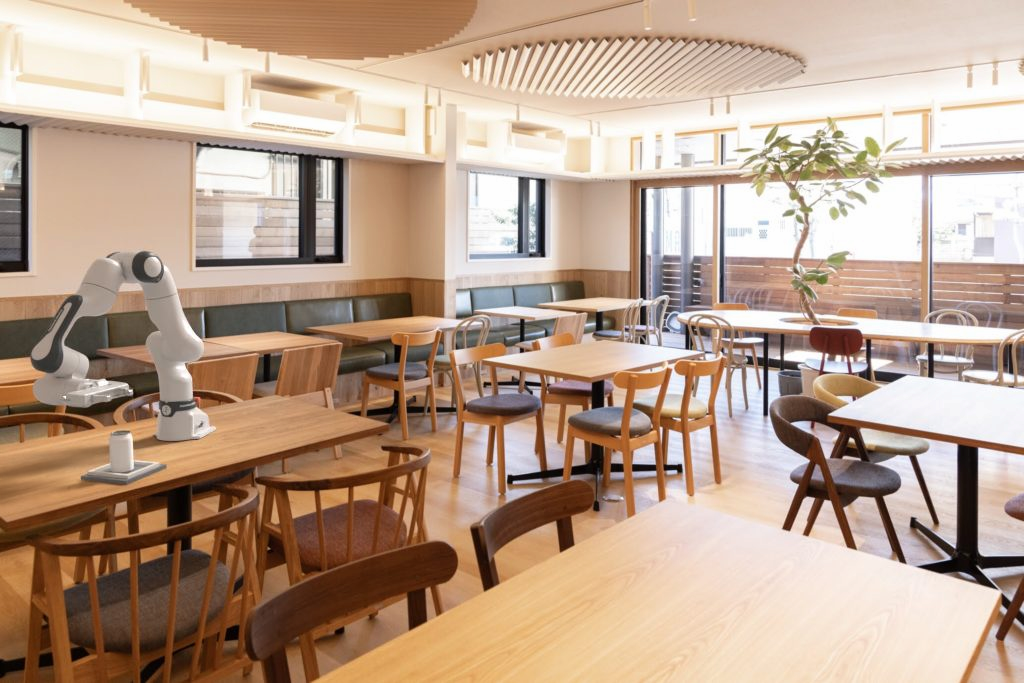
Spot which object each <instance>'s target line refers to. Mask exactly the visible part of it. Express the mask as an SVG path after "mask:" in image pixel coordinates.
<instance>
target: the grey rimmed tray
mask: <svg viewBox="0 0 1024 683" xmlns="http://www.w3.org/2000/svg"><path fill="white" fill-rule="evenodd" d="M166 469H167V464H165V463H161V462H157V461H146V460H137V459H136V460H135V459H134V469H133V470H132V471H130V472H126V473H113V472H112V471H111V468H110V462H109V463H106V464H103V465H101V466H98V467H95V468H93V469H90V470H87V473H85V474H81V475H80V480H81V481H88V482H97V483H107V484H114V485H130V484H132V483H134V482H136V481H139V480H141V479H143V478H146V477H149V476H151V475H153V474H155V473H158V472H161V471H163V470H166Z"/></svg>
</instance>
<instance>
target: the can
mask: <svg viewBox="0 0 1024 683" xmlns="http://www.w3.org/2000/svg"><path fill="white" fill-rule="evenodd" d="M109 434H110V435H109V438H108V441H109V442H108V444H109V447H108V448H109V463H110V468H111V471H112V472H113V473H126V472H130V471H132V470H133V469H134V460H135V459H134V442H133V440H134V438H133V435H132V434H131V431H130V430H123V429H122V430H115V431H112V432H110V433H109Z"/></svg>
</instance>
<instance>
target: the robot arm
mask: <svg viewBox="0 0 1024 683" xmlns="http://www.w3.org/2000/svg"><path fill="white" fill-rule="evenodd" d="M122 284H139V285H140V286H141V289H142V295H143V298H144V301H145V304H146V309H147V312H148V317H149V319H150V321H151V322H152V323H153V324H154V325H155V327H157V329H158V330H157V331H153V332H151V333H150V334H149V335H148V336H147V337H146V341H145V348H146V351H147V353H148V354H149V356H151V358H152V360H153V363H154V365H155V369H156V373H157V377H158V384H159V385H158V386H159V387H158V388H159V399H158V409H159V412H158V414H157V423H156V424H157V425H156V431H155V432H154V436H156V439H157V440H160V441H165V442H166V441H167V442H177V441H179V442H180V441H188V440H198V439H202V438H205V437H206V436H208V435H209V434H211V433H213V432H214V431H216V430H217V428H216V426H214V425H210V418H209V416H208V414H207V413H206V412H204V411H203V410H201V409H200V408H199V407H198V406H197V403H201V397H199V396H194V395H193V394H194V393H193V391H194V390H193V377H192V375H191V373H190V372H189V371H188V369H187V366H186V364H189V363H194V362H196V361H197V362H198V360H200V359H201V357H202V356H203V354H204V352H205V345H204V342H203V340H202V339H201V338H200V337H199V336H198V335H197V334H196V332H195V331H194V330H193V329H192V327H191V325H190V323H189V321H188V319H187V317H186V316H185V315H186V314H185V312H184V311H183V307H182V304H181V300H180V297H179V293H178V288H177V285H176V283H175V279H174V277H173V275H172V272H171V271H170V269H169V267H168V266H166V265H165V264H163V262H162V259H161V258H160V257H159V256H158V255H157V254H156V253H154V252H152V251H148V250H126V251H114V252H112V253H110V254H108V255H106V256H105V257H99V258H96V259H95V260H94V261H93V262H92V263H91V265H90V266H89V268H88V270H87V271H86V272H85V274H84V277H83V278H82V281H81V283H80V285H79V288H78V289H77V290H76V292H75V293H74V294H73V295H70V296H68V297H67V298H66V299H64V301H63V302H62V304H61V305H60V306H59V308H58V310H57V311H56V313H55V314H54V317H53V318H52V319H51V322H50V323H49V325H48V326H47V327H46V330H45V331H44V334H43V335H42V336H41V338H39V340H38V341H37V342H36V343H35V344H34V345H33V347H32V348H31V351H30V355H29V359H30V364H31V366H32V367H33V368H34V369H35V370H36V371H37V372H38V371H39V372H42V373H45V374H44V375H43V376H41V377H40V378H37V379H36V380H35V381H34V382H33V385H32V392H33V395H34V397H35V398H36V400H38V401H39V402H40V403H43V404H46V405H51V406H58V407H59V406H61V407H63V406H69V407H72V408H73V407H74V408H89V407H91V406H92V405H95V404H98V403H108V402H111V401H112V400H114V399H118V398H121V397H130V396H133V394H134V391H133V389H130V385H129V384H128V383H127V382H122V381H115V380H106V378H93V379H91V378H87V377H88V373H89V370H90V366H91V365H90V359H89V358H88V357H87V355H86V354H83V353H81V352H80V351H77V350H75V349H72V348H70V347H69V346H67V345H65V340H66V338H67V336H69V335H68V334H69V333H70V331H71V329H72V328H73V326H74V324H75V323H76V321H77V320H78V319H80V318H82V317H98V316H103V315H106V314H107V313H109V312H110V311H111V310H112V308H113V306H114V304H115V302H116V300H117V298H118V297H117V296H118V294H119V292H120V288H121V286H122Z"/></svg>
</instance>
